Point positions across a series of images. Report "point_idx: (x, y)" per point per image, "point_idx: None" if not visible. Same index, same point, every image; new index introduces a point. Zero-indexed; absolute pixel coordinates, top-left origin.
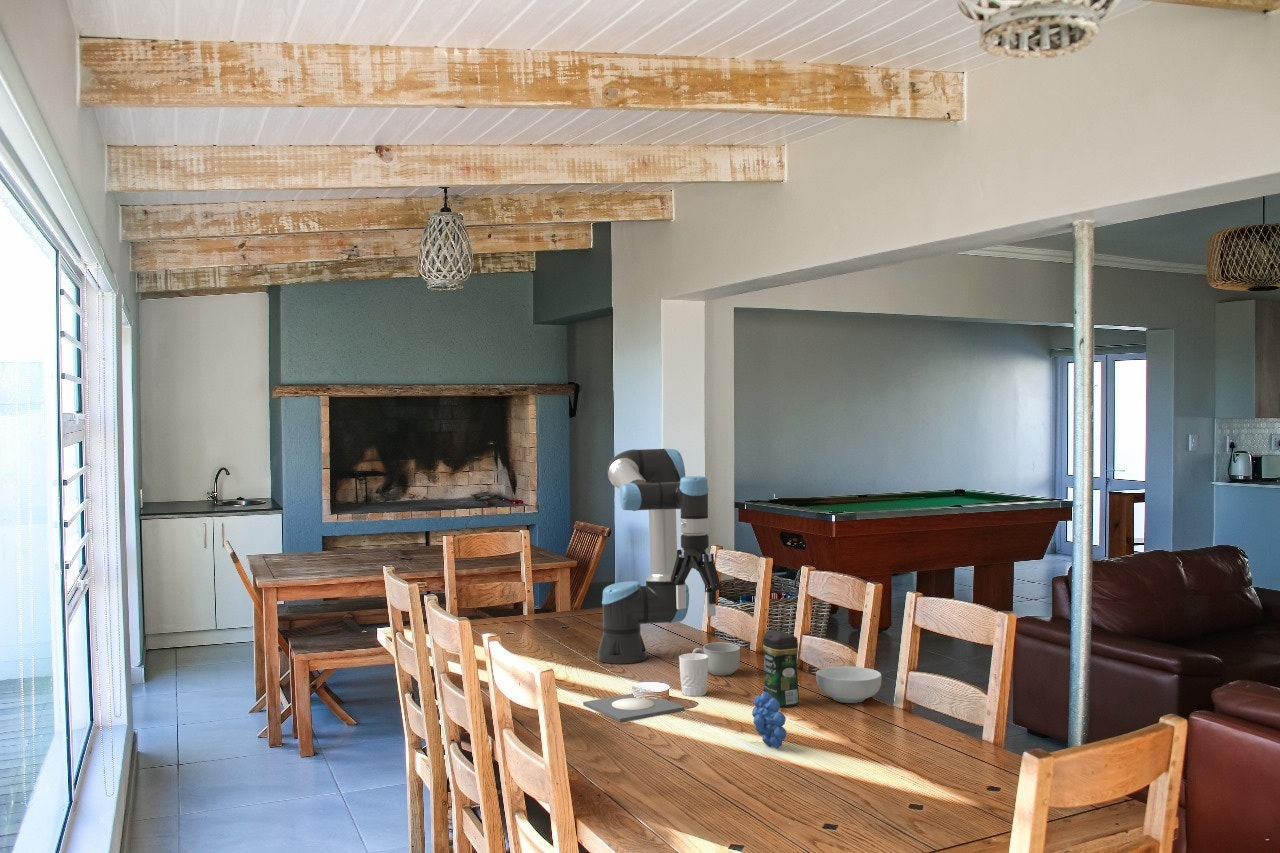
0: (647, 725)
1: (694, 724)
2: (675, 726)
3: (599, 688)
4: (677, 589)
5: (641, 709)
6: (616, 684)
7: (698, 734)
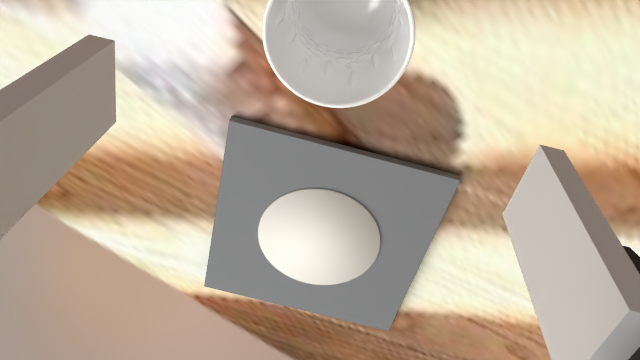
0: (460, 312)
1: None
2: None
3: None
4: (3, 227)
5: (374, 260)
6: None
7: None
